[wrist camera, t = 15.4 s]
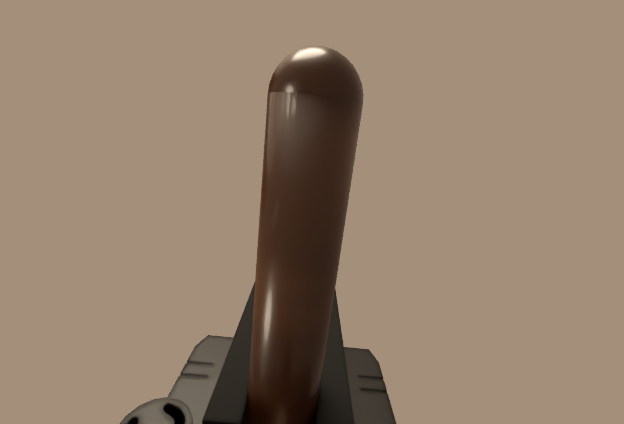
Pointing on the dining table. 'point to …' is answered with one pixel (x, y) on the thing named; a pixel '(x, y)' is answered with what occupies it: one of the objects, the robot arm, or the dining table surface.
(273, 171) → the wooden peg stand
